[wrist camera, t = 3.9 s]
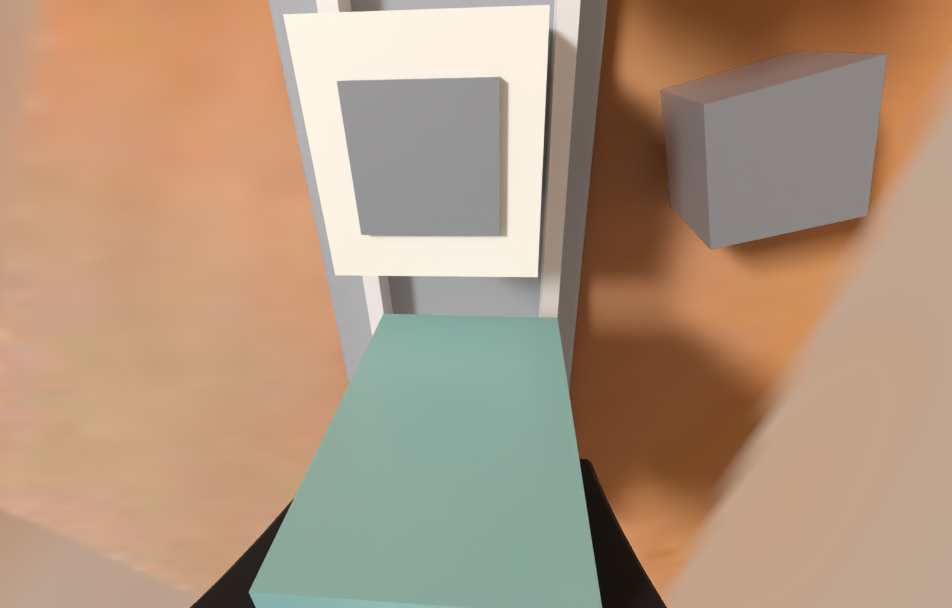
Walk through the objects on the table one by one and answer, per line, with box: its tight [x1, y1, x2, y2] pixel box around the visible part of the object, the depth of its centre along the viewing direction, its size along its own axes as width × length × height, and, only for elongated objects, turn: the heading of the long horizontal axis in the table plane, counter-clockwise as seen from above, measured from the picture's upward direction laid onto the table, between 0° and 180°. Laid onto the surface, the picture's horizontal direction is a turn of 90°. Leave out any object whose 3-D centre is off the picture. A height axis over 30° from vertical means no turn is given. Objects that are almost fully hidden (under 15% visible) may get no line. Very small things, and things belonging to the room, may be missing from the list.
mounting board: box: [269, 0, 607, 390], centre depth 16 cm, size 22×10×7 cm, turn 2°
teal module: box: [249, 314, 602, 608], centre depth 10 cm, size 6×4×7 cm
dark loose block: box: [660, 51, 887, 250], centre depth 14 cm, size 4×4×4 cm
